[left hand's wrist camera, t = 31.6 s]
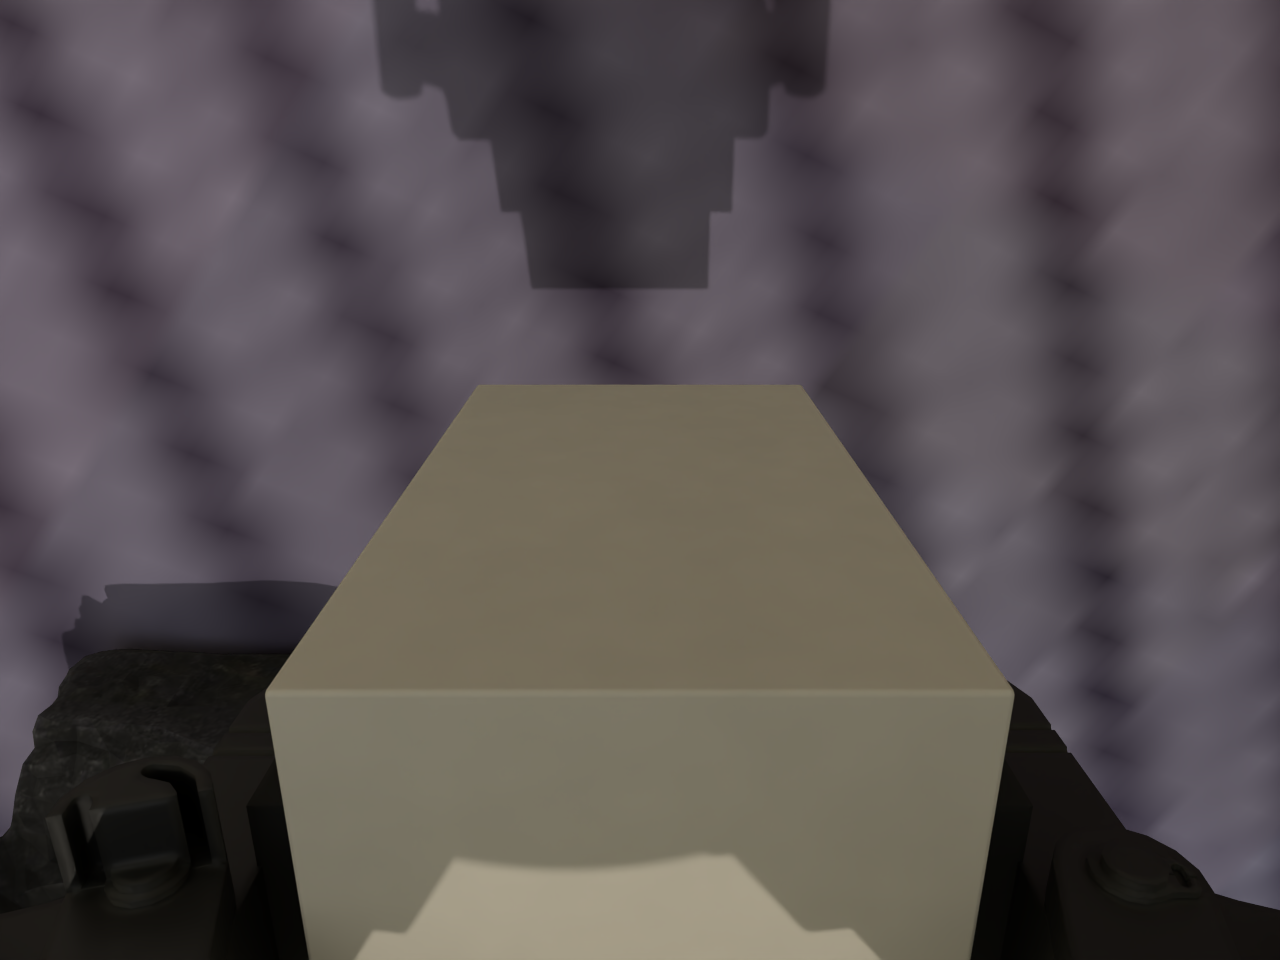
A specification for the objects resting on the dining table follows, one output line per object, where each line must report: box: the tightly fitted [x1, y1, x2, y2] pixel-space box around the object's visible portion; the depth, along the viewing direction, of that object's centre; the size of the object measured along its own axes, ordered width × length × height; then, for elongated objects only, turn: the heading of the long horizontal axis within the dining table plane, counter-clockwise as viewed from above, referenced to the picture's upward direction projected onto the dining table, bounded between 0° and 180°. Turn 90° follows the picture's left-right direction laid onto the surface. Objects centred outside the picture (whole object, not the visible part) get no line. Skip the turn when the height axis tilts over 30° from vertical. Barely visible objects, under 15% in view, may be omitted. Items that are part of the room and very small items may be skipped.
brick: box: [265, 385, 1014, 960], centre depth 12 cm, size 6×6×9 cm
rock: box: [0, 649, 290, 914], centre depth 29 cm, size 20×16×15 cm
